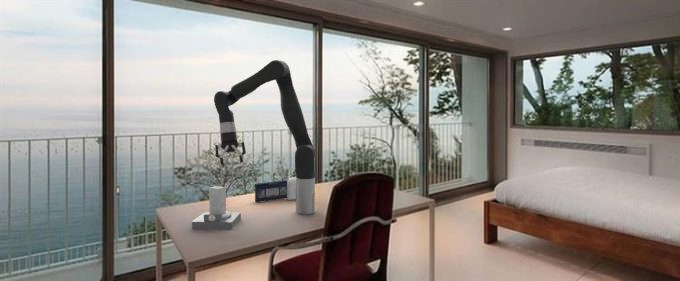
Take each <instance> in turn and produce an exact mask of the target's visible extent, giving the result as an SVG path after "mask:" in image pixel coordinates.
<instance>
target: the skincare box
mask: <svg viewBox="0 0 680 281" xmlns="http://www.w3.org/2000/svg"><path fill="white" fill-rule="evenodd" d="M226 192H227V191H226V186H217V185H214V186H212V187H211V186H210V187H209V188H208V197H209V199H208V201H209V203H208V204H209V212H210V213H222V215H223V214H225V213H226V211H227V195H226V194H227V193H226Z"/></svg>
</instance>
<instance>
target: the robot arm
mask: <svg viewBox="0 0 680 281" xmlns="http://www.w3.org/2000/svg"><path fill="white" fill-rule="evenodd" d="M292 78H293V77H292V74H291V70H290V66H289V65H288V63H286V61H283V60H279V59H275V60H274V59H273V60H271V61H270V62H269V63H267V64H266V65H265V66H264V67H262V68H261V69H259V70H258V71H257V72H255V73H253V74H252V75H251V76H248V77H247V78H245V79H243V80H241V81H239V82H237V83H236V84H234V85H232V86H231V88H230V90H228V91H223V90H222V91H221V90H219V91H217V92H215V94H214V97H213V102H214V107H215V109H216V111H217V114H218V120H219V133H220V141H221V144H215V146H214V148H215V149H214V150H215V157H216V158H219V160H220V165H221V166H222V167H223V166H225V164H224V158H223V157H224V156H225V153H235V152H236V153H237V154H238V155H239V164H242V163H243V162H244V159H243V158H244V157H243V156H244V155H245V154H247V151H246V146H245V142H243V141H242V142H238V137H237V128H236V123H235V116H234V113H233V110H231V109H230V106H233V105H235V104H236V103H237V102H239V100H241V99H243V98H244V97H246V96H248V95H250V94H252V93H253V92H254V91H256V90H257V89H258V88H259V87H261V86H263V85H264V84H267V83H269V82H272V81H275V82H276V85H277V87H278V90H279V94H280V95H279V96H280V97H279V98H280V109H281V114H282V116H283V119H284V122H285V124H286V126H287V128H288V130H289V131H290V134H291V135H292V137H293V139H294V143H295V147H296V150H295V152H294V171H295V172H294V173H295V177H296V199H295V213H296V214H298V215H306V216H307V215H313V214H315V212H316V171H315V158H316V149H315V146H314V145H313V143H312V140H311V138H310V136H309V134H308V129H307V125H306V121H305V117H304V113H303V110H302V107H301V104H300V101H299V99H298V95H297V93H296V90H295V88H294V84H293V79H292ZM238 147H241V150H242V152H241V151H240V150H239V149H238ZM220 149H222V150H223V151H222V152H221V154H219V150H220Z"/></svg>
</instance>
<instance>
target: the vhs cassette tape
mask: <svg viewBox="0 0 680 281" xmlns="http://www.w3.org/2000/svg"><path fill="white" fill-rule="evenodd" d="M287 180H288V179H287ZM287 180H286V179H284V180H277V181H269V182H260V183H255V184H254V197H255V198H254V201H256V202H255V203H262V202H261V201H264V202H271V201H276V200H277V199H278V200H284V199H285V198H286V199H287ZM270 200H271V201H270Z"/></svg>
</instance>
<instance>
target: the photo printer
mask: <svg viewBox="0 0 680 281" xmlns="http://www.w3.org/2000/svg"><path fill="white" fill-rule="evenodd" d="M286 200H288V201H290V200H296V176H293V177H289V178H288V179H287V198H286Z"/></svg>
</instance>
